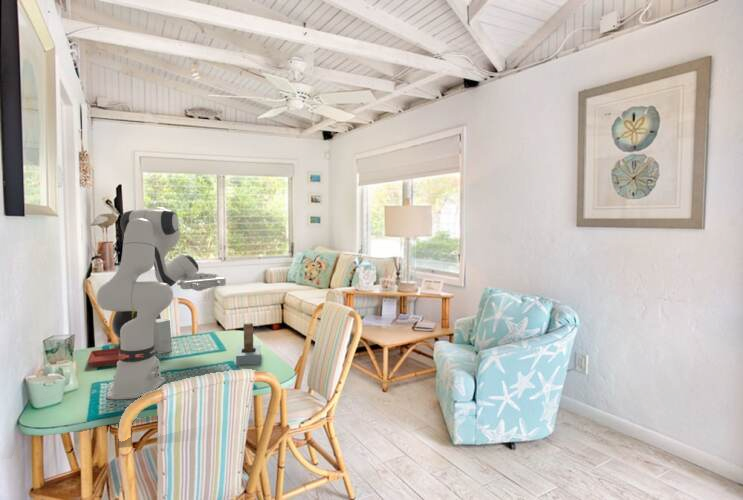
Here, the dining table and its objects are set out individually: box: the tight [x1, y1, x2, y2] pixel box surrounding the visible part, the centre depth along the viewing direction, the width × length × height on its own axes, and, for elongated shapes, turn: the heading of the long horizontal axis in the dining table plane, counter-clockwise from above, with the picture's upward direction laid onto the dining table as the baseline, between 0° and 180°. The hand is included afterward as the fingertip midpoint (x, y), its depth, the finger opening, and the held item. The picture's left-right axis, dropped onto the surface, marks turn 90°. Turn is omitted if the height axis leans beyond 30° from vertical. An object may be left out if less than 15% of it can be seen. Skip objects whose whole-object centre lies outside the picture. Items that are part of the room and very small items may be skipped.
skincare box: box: [153, 317, 173, 354], centre depth 213 cm, size 8×6×15 cm
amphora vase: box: [111, 311, 161, 347], centre depth 222 cm, size 22×22×28 cm
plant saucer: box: [86, 347, 121, 368], centre depth 199 cm, size 18×18×3 cm
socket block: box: [235, 345, 261, 366], centre depth 202 cm, size 14×10×4 cm
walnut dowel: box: [243, 322, 254, 353], centre depth 201 cm, size 4×4×16 cm
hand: (209, 285), depth 207 cm, fingers open, 8 cm apart
